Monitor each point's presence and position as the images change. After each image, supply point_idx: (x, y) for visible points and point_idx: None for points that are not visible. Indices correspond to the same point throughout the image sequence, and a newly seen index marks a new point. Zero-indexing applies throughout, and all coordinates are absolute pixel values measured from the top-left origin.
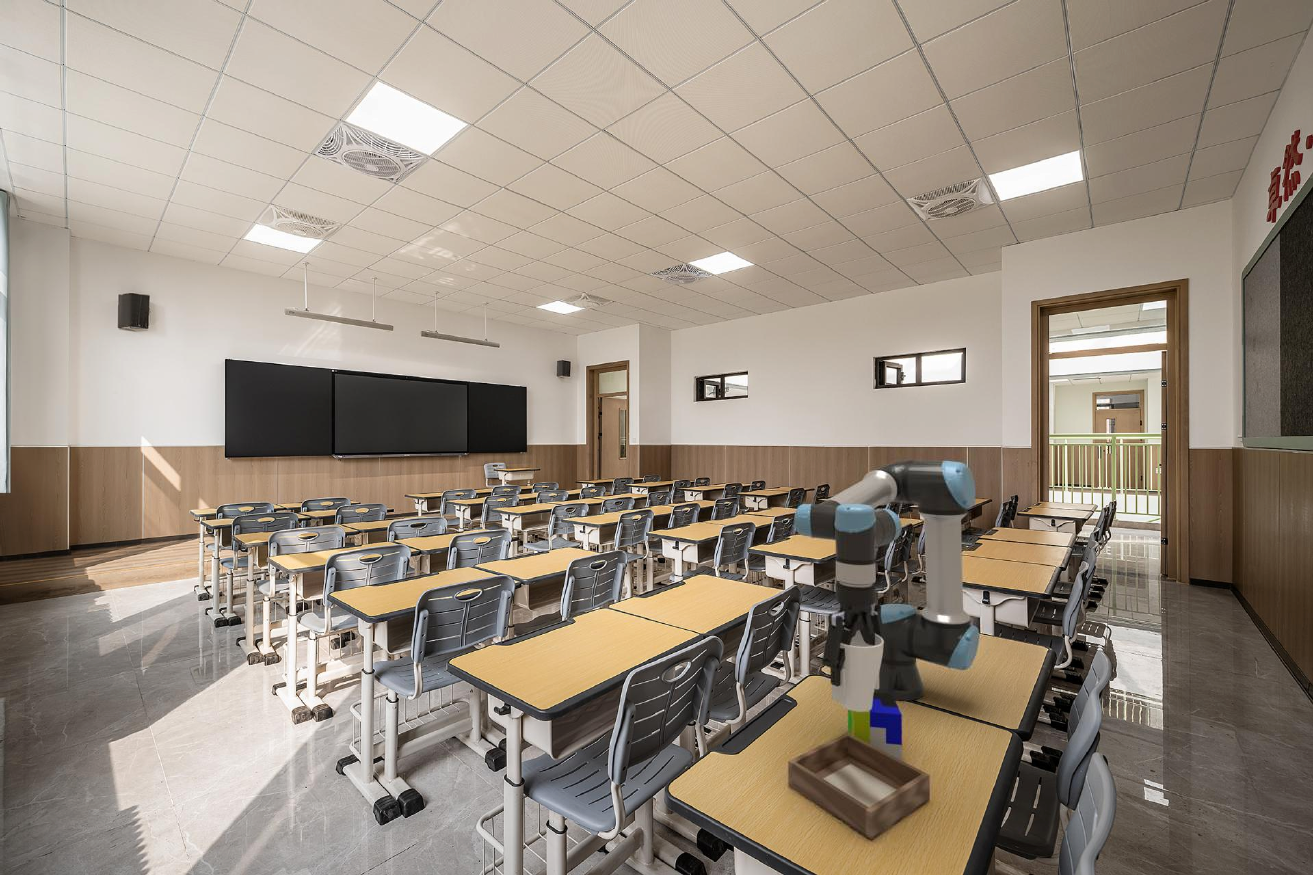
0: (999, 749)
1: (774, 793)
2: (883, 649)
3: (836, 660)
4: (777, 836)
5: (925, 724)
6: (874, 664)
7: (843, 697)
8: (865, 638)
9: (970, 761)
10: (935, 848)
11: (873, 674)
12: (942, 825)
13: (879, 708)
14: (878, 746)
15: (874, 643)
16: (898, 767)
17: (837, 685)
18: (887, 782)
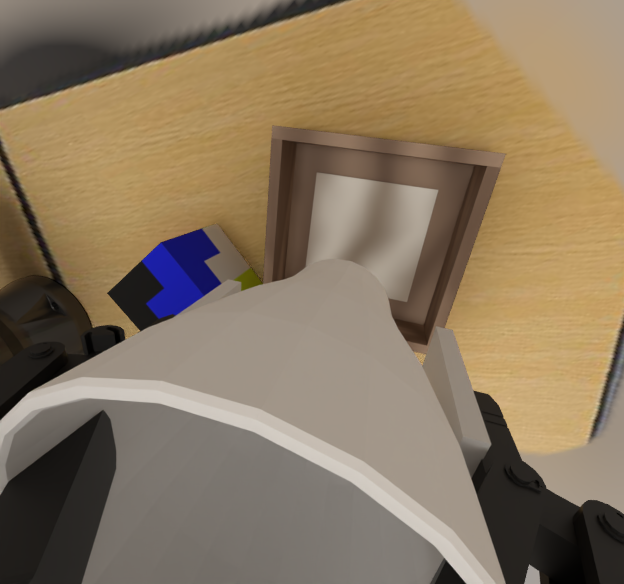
0: (52, 107)
1: (467, 339)
2: (65, 351)
3: (613, 565)
4: (587, 285)
5: (96, 238)
6: (328, 314)
7: (456, 343)
8: (99, 494)
9: (126, 130)
10: (424, 49)
11: (334, 291)
12: (344, 75)
13: (178, 289)
14: (232, 261)
15: (92, 421)
16: (282, 195)
17: (489, 397)
18: (303, 209)
